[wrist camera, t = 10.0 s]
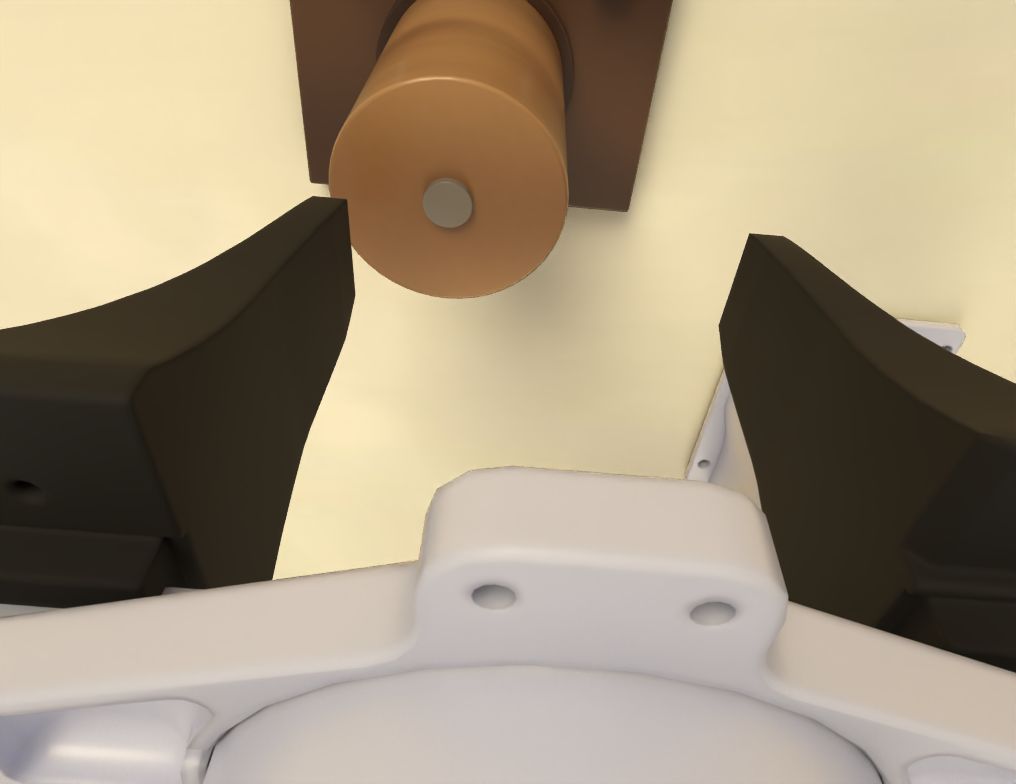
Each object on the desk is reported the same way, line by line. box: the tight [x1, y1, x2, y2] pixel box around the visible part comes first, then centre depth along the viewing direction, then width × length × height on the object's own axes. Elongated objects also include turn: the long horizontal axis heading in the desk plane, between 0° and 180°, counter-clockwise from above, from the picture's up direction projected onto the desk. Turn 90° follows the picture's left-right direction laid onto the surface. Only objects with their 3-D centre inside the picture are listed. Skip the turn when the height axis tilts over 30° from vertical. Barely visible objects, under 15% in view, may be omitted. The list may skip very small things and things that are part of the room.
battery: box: [329, 0, 574, 299], centre depth 17 cm, size 5×5×8 cm
